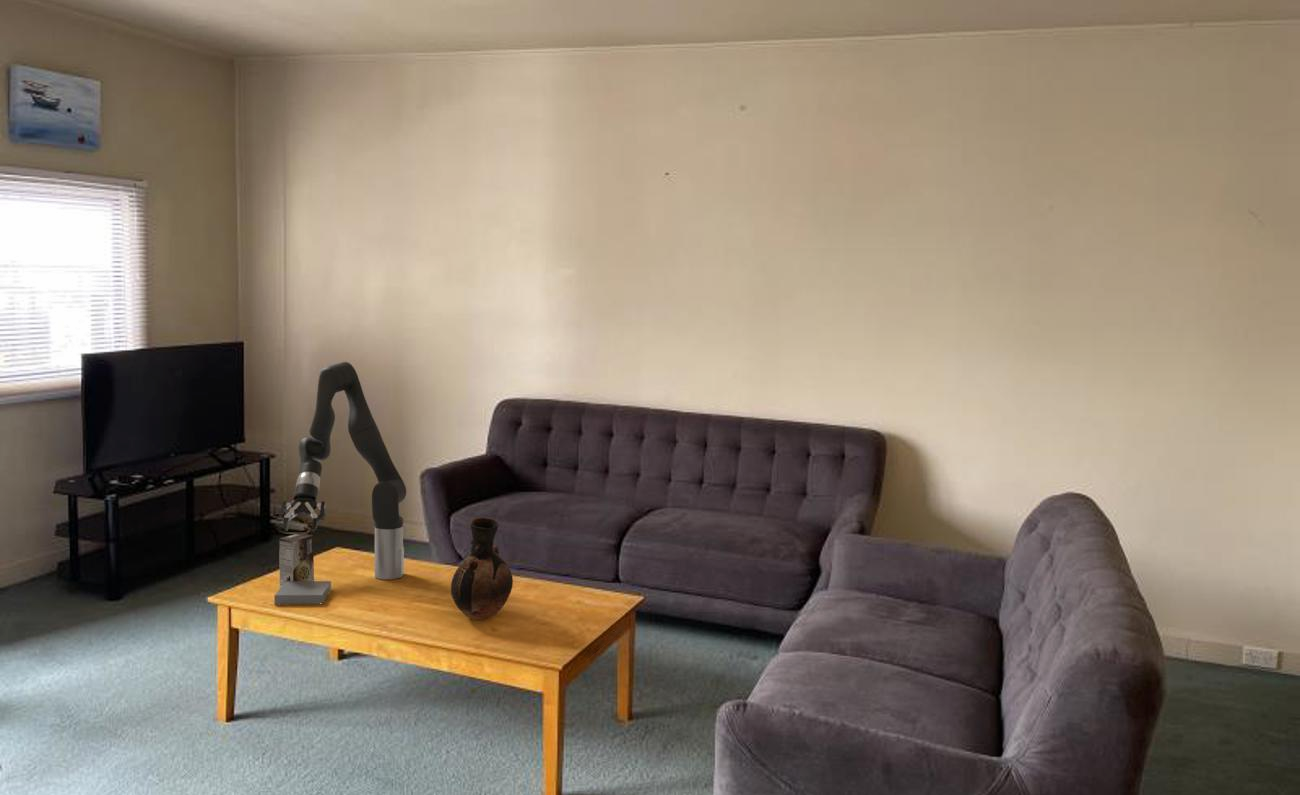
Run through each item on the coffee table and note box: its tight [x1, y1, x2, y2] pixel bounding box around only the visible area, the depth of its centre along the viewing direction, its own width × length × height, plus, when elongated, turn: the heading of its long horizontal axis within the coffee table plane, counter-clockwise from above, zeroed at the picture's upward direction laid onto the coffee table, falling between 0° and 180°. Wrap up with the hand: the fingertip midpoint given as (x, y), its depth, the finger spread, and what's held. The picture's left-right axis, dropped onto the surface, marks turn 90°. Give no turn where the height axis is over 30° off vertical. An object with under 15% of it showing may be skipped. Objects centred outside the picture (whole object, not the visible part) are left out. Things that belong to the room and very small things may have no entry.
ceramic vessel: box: [450, 517, 514, 621], centre depth 290 cm, size 21×18×30 cm
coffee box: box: [278, 532, 315, 587], centre depth 315 cm, size 9×6×16 cm
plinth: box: [273, 580, 332, 605], centre depth 304 cm, size 14×14×3 cm
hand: (299, 529), depth 318 cm, fingers open, 8 cm apart
